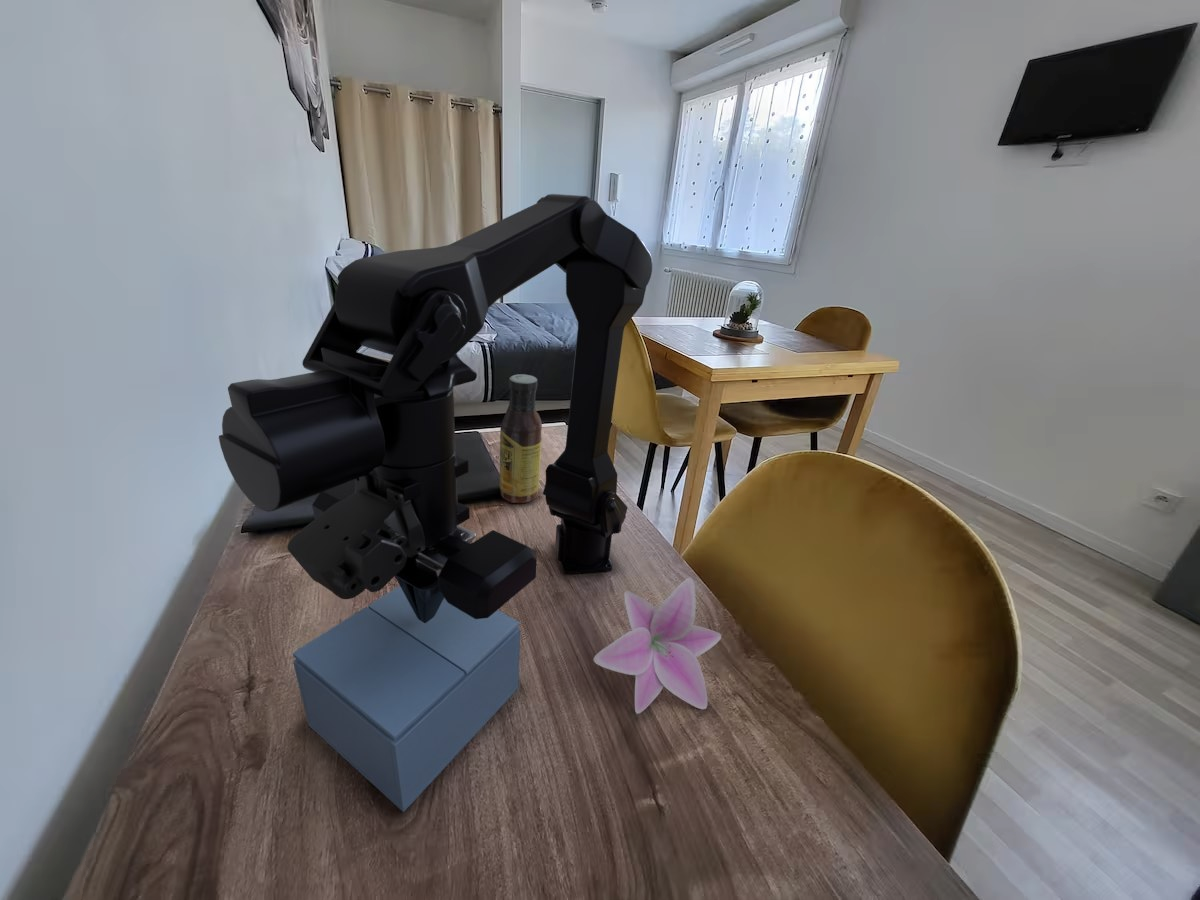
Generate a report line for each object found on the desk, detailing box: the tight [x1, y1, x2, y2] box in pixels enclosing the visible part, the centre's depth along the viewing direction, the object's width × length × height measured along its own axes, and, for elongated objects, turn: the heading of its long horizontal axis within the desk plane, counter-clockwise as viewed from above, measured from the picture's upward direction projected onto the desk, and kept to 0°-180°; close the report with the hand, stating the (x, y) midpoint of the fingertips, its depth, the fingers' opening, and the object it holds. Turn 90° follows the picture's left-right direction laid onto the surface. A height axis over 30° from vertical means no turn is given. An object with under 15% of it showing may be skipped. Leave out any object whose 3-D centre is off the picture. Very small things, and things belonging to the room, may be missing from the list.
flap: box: [367, 585, 520, 674], centre depth 43 cm, size 6×12×1 cm, turn 59°
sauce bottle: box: [499, 373, 543, 504], centre depth 74 cm, size 7×6×20 cm
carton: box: [292, 606, 521, 813], centre depth 42 cm, size 13×12×8 cm
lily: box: [592, 577, 722, 715], centre depth 47 cm, size 12×12×10 cm
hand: (426, 618), depth 41 cm, fingers closed
